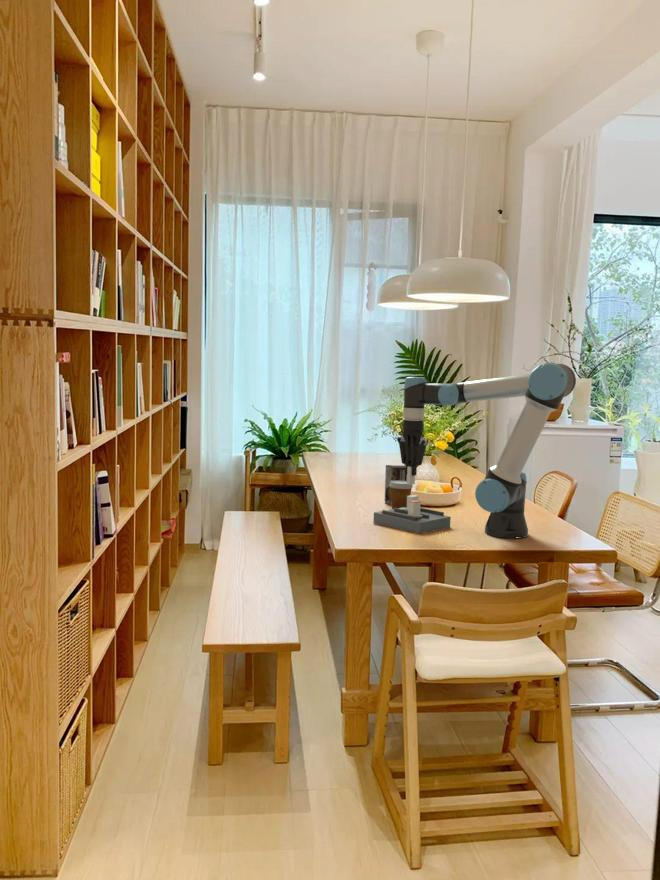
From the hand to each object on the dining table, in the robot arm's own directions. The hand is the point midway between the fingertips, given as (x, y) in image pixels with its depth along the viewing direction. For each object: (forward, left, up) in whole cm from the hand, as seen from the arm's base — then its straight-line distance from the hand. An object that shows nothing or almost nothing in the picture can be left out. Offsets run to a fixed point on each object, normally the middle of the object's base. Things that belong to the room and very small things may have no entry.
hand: (410, 483), depth 275 cm
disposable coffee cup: (+22, -21, -16) cm, 34 cm away
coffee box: (+35, -33, -16) cm, 51 cm away
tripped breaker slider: (-2, 0, -12) cm, 12 cm away
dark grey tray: (+2, -4, -16) cm, 17 cm away
